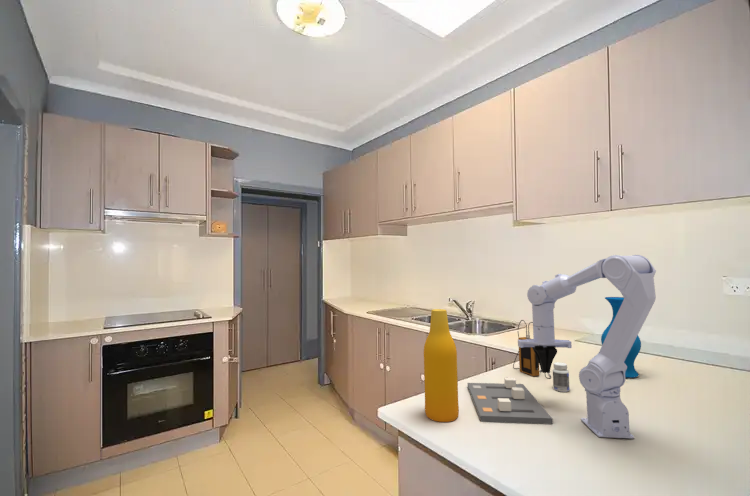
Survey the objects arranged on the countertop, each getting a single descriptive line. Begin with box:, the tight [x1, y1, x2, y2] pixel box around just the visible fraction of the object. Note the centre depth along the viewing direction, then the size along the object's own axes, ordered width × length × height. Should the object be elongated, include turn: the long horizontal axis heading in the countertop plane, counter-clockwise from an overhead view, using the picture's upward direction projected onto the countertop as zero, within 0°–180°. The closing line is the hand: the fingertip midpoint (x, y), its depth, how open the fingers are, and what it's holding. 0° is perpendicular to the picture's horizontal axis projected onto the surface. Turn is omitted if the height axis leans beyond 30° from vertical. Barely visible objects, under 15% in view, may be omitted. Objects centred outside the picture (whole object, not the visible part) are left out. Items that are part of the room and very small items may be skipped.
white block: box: [497, 398, 511, 411], centre depth 96 cm, size 2×3×2 cm
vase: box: [600, 296, 642, 379], centre depth 129 cm, size 12×13×28 cm
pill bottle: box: [552, 361, 570, 393], centre depth 115 cm, size 5×5×8 cm
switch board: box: [467, 382, 554, 425], centre depth 104 cm, size 26×18×2 cm
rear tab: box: [503, 377, 517, 388], centre depth 113 cm, size 2×3×2 cm
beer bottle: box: [423, 308, 460, 423], centre depth 97 cm, size 9×9×29 cm
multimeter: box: [512, 319, 552, 380], centre depth 133 cm, size 15×10×20 cm
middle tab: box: [512, 387, 525, 399], centre depth 104 cm, size 2×3×2 cm
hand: (545, 372), depth 103 cm, fingers closed
